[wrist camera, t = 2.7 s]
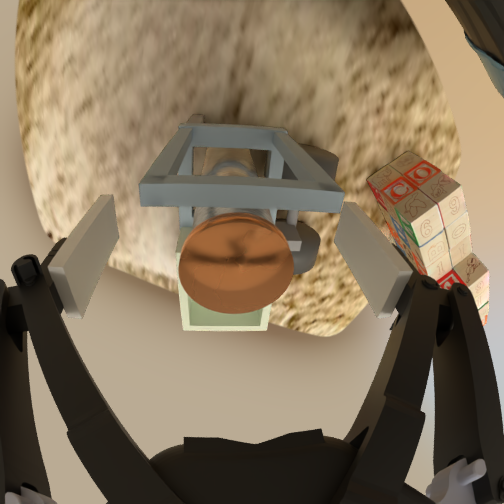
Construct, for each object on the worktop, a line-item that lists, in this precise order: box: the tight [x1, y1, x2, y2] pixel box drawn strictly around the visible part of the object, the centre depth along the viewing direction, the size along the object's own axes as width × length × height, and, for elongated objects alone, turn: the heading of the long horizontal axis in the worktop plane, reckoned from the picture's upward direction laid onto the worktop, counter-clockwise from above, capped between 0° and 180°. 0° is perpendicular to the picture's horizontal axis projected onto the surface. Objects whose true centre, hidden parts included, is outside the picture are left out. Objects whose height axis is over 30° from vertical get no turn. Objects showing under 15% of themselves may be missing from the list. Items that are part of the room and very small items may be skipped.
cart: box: [139, 115, 345, 275], centre depth 20 cm, size 15×12×17 cm
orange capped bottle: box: [178, 147, 294, 314], centre depth 18 cm, size 5×5×17 cm
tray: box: [176, 227, 272, 331], centre depth 22 cm, size 8×7×3 cm
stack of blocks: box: [367, 151, 489, 326], centre depth 27 cm, size 21×6×12 cm, turn 37°
